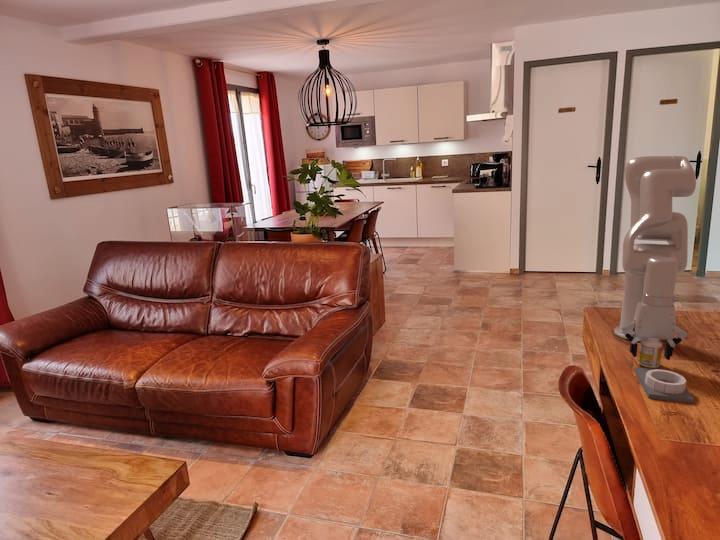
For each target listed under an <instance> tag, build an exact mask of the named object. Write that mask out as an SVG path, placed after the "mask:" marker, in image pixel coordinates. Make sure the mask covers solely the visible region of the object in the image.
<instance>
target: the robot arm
mask: <svg viewBox="0 0 720 540" xmlns="http://www.w3.org/2000/svg"><path fill="white" fill-rule="evenodd" d="M624 169H625V170H624V180H625V185H626V188H627V191H628V193H629V198H630V228H629V230H628V231H627V233H626V234H625V236H624V239H623V243H622V260H621V261H622V262H621V263H622V268H623V272H624V287H623V296H622V303H621V314H620V321H619V322H620V323H619V325H618V326H616V327H615V328H614V330H613V332H614V334H615V335H616V336H618V337H620V338H621V339H625V340H628V341H630V344H629V353H631V355H632V357H633V358H636V357H637V355H638V353H637V352H638V346H639V345H638V342H641V341H642V339H644V338H657V339H660V340H666V342H667V343H665V346H664V352H663V356H664V358H665V360H668V361H670V360H671V357H673V352H674V348H675V347H676V345H678V344H680V343H681V342H682V341H683V340H684V339H685V338H686V337H687V336H688V333H687V332H686V331H685V330H683V329H682V328H680V327H678V325H676V324H677V323H676V322H677V321H676V315H677V314H676V306H675V304H674V303H676V302H677V303H679V301H680V296H675V290H676V283H677V282H676V281H677V275H679V274H683V273H684V272H685V271H686V269H687V265H688V257H689V256H688V255H689V254H688V253H689V252H688V251H689V250H688V246H689V245H688V244H689V243H688V241H689V240H688V239H689V234H688V233H689V232H688V231H689V230H688V228H689V225H688V220H687V218H686V216H685V215H684V214H683V213H681V212H676V211H673V198H687V197H688V198H689V197H690V196H692V195H693V194H694V193H695V191H696V187H697V178H696V172H695V170H694V168H693V165H692V164H691V162H690V161H689V159H688V158H687V157H686V156H682V155H654V156H653V155H650V156H639V157H637V156H636V157H634V158H631V159H629V160H628V161H627V163H626V165H625V168H624ZM636 240H639V241H650V242H651V241H652V242H653V241H655V242H667V244H663V243H635V241H636ZM676 333H677V336H675V335H676Z"/></svg>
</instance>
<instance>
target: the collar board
mask: <svg viewBox="0 0 720 540" xmlns="http://www.w3.org/2000/svg"><path fill="white" fill-rule="evenodd" d="M634 373H635V375H636V376H637V378H638V380H639V383H640V384H641V386H642V388H643V391H644V392H646V393H645V394H646V396H647V398H648V399H654V400H661V401H670V402H679V403H689V404H695V403H694V401H695V398H694V397H693V396H692V393H691V392H690V391H689V390H688V388H687V380H686V378H685V377H684V376H683V375H681V374H679V373H677V372H676V371H674V370H666V369H657V368H647V367H634Z"/></svg>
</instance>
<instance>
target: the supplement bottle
mask: <svg viewBox="0 0 720 540" xmlns="http://www.w3.org/2000/svg"><path fill="white" fill-rule="evenodd" d="M662 352H663V342H662V341H661V339H657V338H644V339H642V341H640V347H639V357H638V363H639V364H640V366H643V367H644V368H648V369H657V368H659V367H660V366H661V360H662V359H661V358H662Z"/></svg>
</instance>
